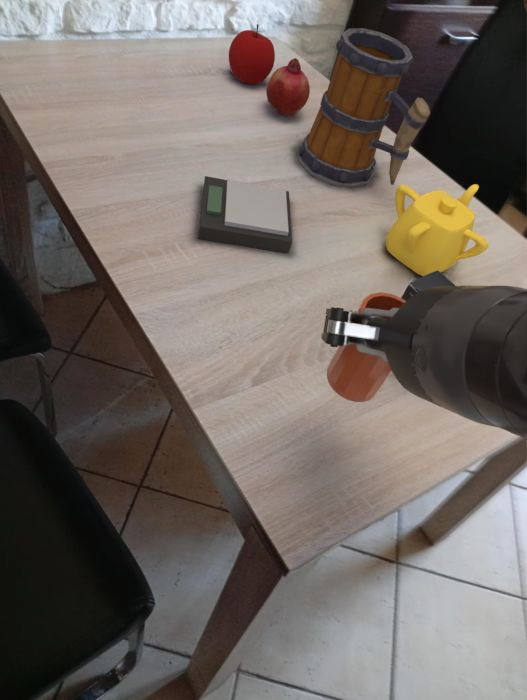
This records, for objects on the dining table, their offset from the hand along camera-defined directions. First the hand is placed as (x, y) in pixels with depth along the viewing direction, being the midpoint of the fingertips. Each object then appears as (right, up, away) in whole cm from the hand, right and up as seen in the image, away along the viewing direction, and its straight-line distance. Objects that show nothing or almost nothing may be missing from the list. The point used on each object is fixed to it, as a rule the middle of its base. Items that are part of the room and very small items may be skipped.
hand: (370, 329), depth 47 cm
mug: (+5, +30, +46) cm, 55 cm away
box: (+9, -3, +21) cm, 23 cm away
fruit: (-6, +44, +54) cm, 70 cm away
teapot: (+15, +13, +35) cm, 41 cm away
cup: (-1, -5, +3) cm, 6 cm away
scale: (-12, +18, +31) cm, 38 cm away
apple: (-13, +53, +60) cm, 81 cm away
